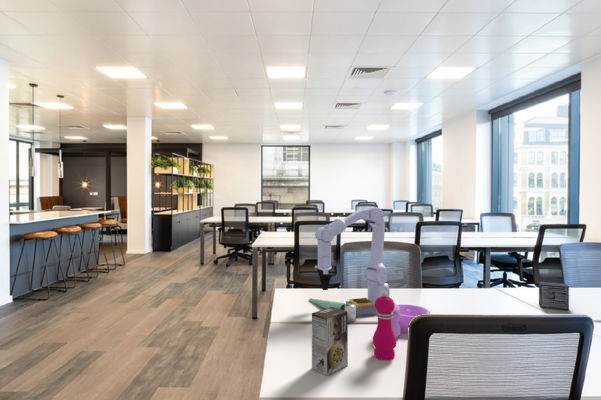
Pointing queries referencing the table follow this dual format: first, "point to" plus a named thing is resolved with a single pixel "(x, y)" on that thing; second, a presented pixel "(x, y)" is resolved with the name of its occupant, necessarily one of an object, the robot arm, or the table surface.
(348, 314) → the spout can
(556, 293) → the small box
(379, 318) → the pepper mill
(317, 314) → the grey cardboard box
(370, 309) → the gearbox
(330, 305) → the mint green cylinder
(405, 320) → the container set
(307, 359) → the table surface
